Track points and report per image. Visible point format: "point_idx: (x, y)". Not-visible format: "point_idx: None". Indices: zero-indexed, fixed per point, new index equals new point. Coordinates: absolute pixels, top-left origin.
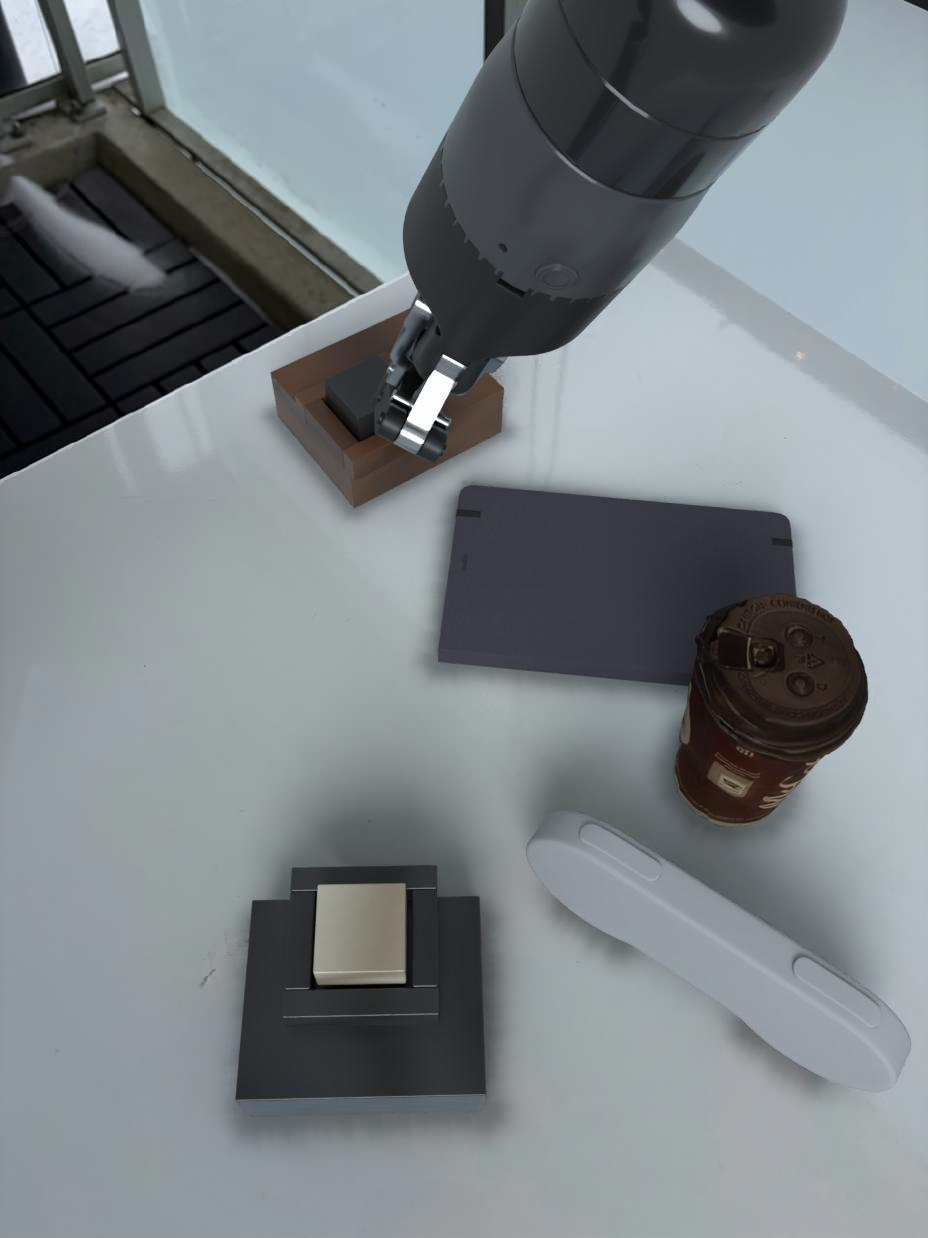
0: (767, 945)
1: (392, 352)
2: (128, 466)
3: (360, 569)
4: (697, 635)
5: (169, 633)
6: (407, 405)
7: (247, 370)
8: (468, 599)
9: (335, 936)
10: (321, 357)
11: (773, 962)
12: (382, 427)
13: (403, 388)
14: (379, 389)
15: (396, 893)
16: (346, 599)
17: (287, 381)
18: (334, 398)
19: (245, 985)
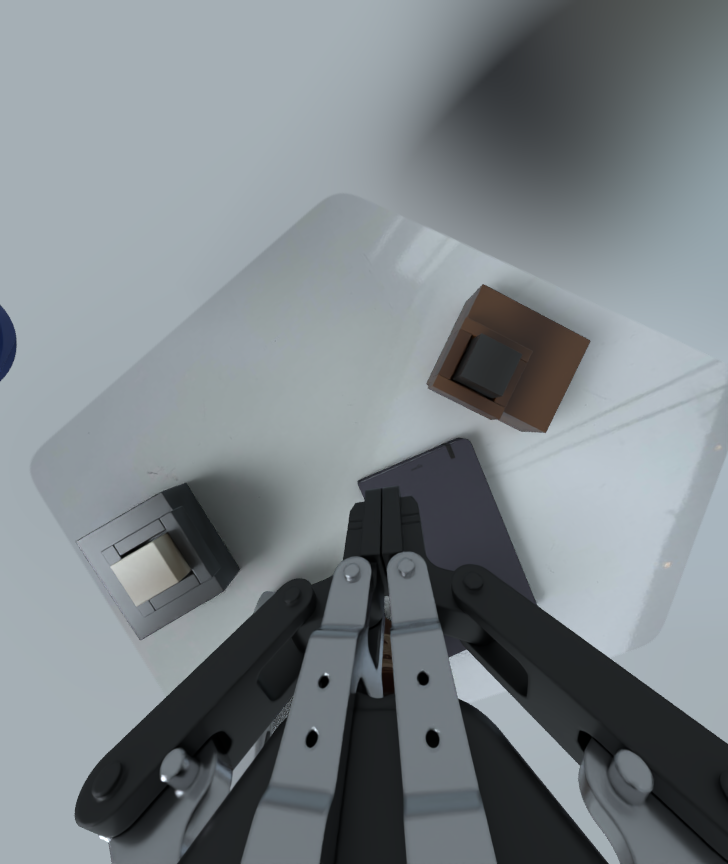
0: (243, 765)
1: (306, 651)
2: (386, 242)
3: (390, 410)
4: (383, 695)
5: (299, 340)
6: (171, 787)
7: (490, 260)
8: (395, 482)
9: (132, 565)
10: (512, 307)
11: (236, 771)
12: (80, 804)
13: (311, 625)
14: (366, 516)
15: (170, 581)
16: (368, 414)
17: (481, 299)
18: (472, 347)
19: (123, 514)
